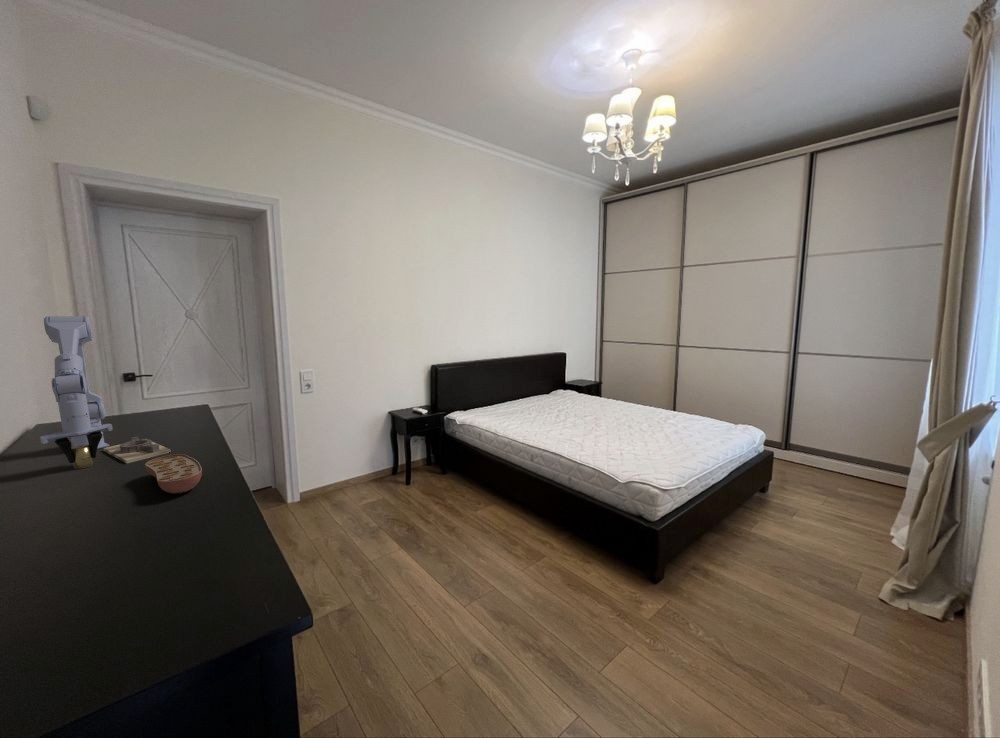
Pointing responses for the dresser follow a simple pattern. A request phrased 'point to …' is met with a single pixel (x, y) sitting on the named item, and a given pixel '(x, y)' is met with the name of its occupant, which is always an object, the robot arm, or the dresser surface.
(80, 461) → the cylinder
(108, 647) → the dresser surface
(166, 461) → the anatomical model
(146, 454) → the coupling plate
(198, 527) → the dresser surface
